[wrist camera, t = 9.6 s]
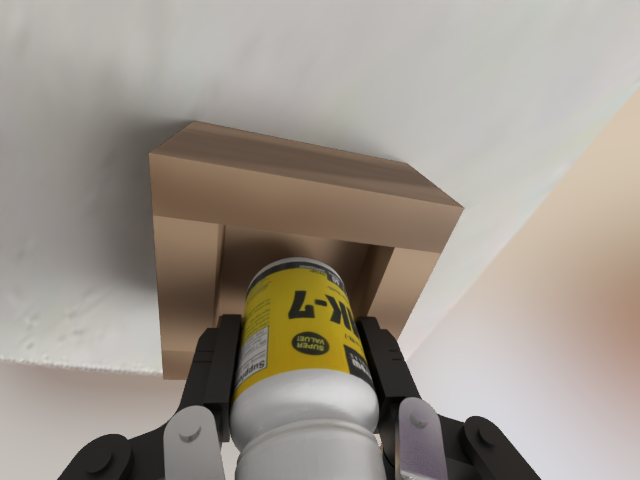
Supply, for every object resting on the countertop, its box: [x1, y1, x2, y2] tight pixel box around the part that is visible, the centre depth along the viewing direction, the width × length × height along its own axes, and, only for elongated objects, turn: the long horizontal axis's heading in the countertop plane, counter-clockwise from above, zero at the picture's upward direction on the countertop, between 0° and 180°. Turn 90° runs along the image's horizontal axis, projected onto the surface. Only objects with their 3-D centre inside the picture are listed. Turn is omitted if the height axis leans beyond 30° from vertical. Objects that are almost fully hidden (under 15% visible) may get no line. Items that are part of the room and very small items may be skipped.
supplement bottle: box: [229, 257, 387, 480], centre depth 11 cm, size 5×5×8 cm
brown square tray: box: [149, 121, 464, 380], centre depth 17 cm, size 12×12×6 cm
